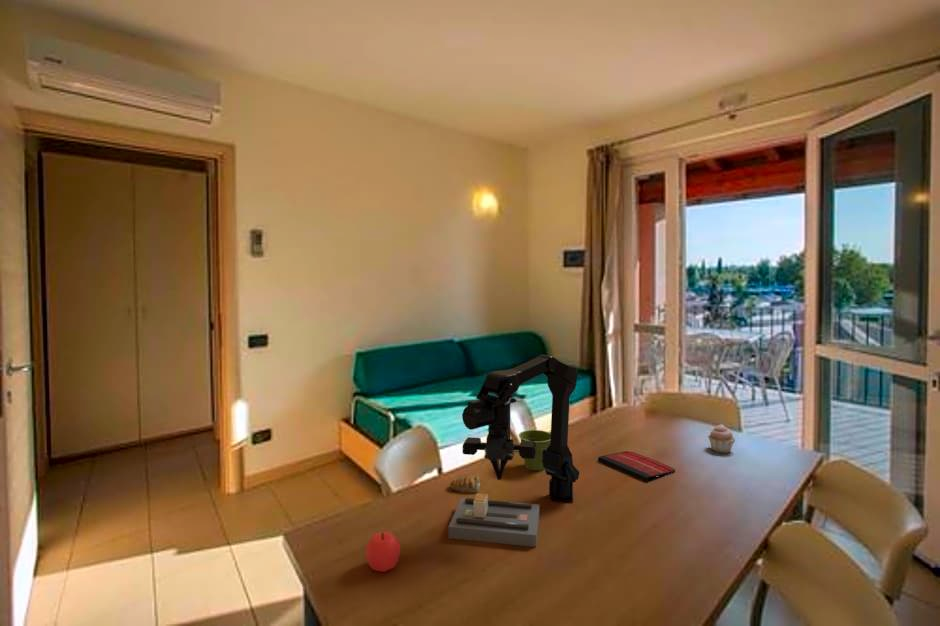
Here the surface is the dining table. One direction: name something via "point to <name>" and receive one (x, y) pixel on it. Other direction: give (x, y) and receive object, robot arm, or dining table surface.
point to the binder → (636, 465)
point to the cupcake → (721, 439)
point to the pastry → (466, 484)
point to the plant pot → (541, 443)
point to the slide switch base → (496, 523)
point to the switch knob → (480, 505)
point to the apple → (383, 551)
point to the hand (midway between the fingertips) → (499, 479)
